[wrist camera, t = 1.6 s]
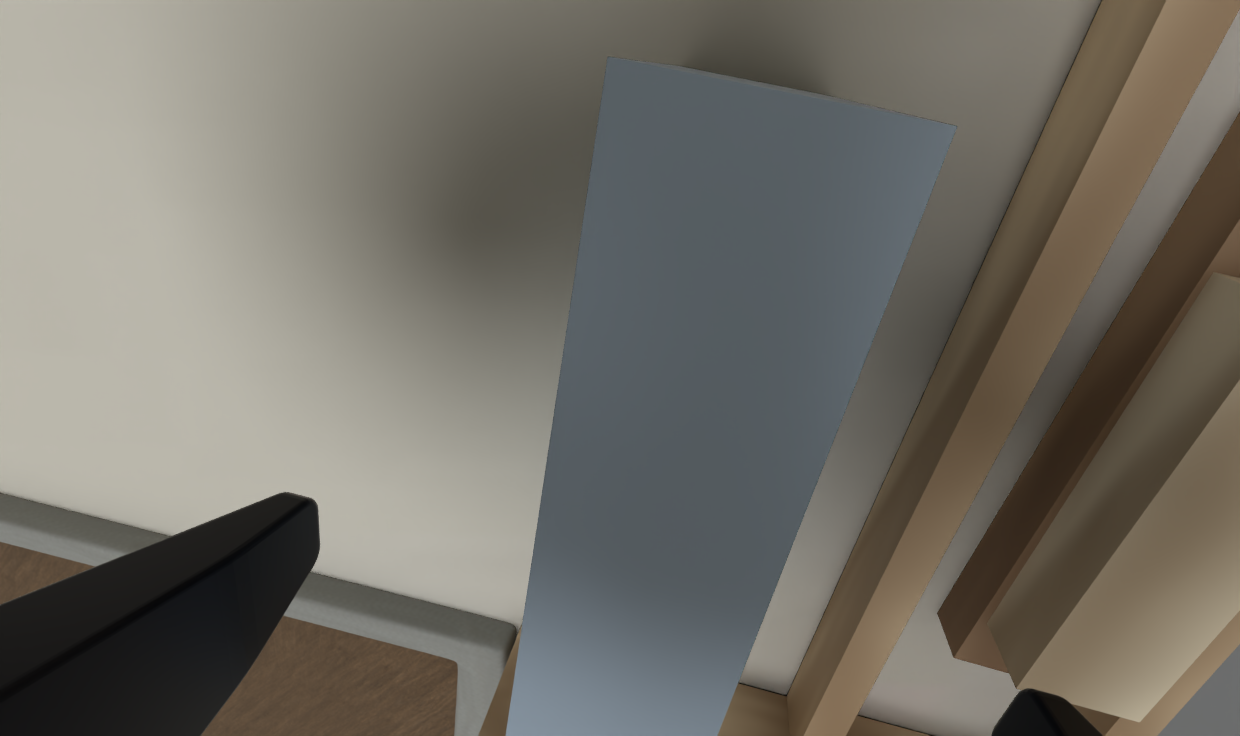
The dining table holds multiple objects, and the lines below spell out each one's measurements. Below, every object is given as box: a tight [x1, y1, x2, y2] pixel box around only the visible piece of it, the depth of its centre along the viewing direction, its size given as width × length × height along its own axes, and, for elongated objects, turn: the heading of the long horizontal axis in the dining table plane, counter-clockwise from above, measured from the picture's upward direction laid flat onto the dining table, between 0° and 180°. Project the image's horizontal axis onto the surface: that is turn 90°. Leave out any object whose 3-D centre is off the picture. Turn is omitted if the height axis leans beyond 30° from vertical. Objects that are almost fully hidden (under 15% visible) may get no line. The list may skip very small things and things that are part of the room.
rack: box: [478, 0, 1240, 736], centre depth 13 cm, size 16×23×4 cm
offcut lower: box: [937, 113, 1240, 673], centre depth 14 cm, size 3×13×2 cm, turn 168°
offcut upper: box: [987, 272, 1240, 722], centre depth 12 cm, size 3×9×2 cm, turn 169°
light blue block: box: [506, 57, 957, 736], centre depth 12 cm, size 3×12×8 cm, turn 170°
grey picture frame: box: [0, 493, 516, 736], centre depth 25 cm, size 19×2×30 cm
